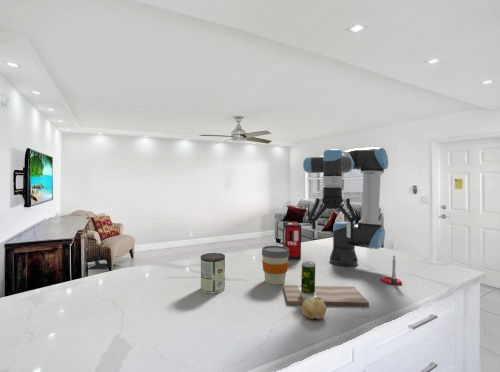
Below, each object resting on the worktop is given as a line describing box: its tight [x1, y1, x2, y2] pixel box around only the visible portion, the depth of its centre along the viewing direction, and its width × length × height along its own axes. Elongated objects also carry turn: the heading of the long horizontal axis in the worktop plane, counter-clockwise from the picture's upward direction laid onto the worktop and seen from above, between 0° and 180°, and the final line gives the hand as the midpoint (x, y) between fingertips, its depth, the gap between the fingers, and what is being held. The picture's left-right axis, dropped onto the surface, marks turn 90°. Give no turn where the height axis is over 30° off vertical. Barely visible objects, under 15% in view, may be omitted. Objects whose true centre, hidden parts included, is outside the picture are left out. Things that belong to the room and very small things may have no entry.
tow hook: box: [380, 255, 403, 286], centre depth 135 cm, size 8×13×9 cm
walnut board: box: [282, 284, 370, 307], centre depth 115 cm, size 16×30×2 cm, turn 89°
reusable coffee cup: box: [261, 245, 289, 286], centre depth 132 cm, size 13×13×15 cm
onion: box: [301, 294, 327, 321], centre depth 98 cm, size 8×8×7 cm
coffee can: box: [200, 252, 226, 294], centre depth 122 cm, size 10×10×14 cm
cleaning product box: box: [282, 220, 302, 261], centre depth 178 cm, size 16×9×20 cm, turn 179°
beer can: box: [300, 260, 316, 295], centre depth 115 cm, size 5×5×12 cm
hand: (332, 237), depth 122 cm, fingers open, 13 cm apart
